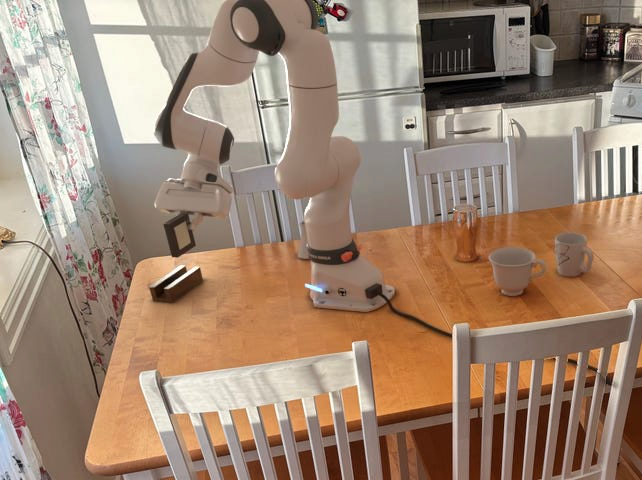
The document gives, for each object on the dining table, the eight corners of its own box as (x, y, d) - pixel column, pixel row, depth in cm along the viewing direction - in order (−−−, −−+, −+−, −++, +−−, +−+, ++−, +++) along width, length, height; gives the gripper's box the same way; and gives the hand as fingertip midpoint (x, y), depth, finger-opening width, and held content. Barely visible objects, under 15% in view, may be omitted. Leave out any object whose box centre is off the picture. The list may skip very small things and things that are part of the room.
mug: (600, 274, 197) (602, 240, 192) (581, 284, 192) (583, 249, 187) (566, 263, 204) (567, 229, 199) (547, 273, 199) (548, 238, 194)
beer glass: (450, 260, 208) (448, 210, 200) (460, 251, 213) (458, 202, 205) (473, 264, 205) (471, 213, 197) (482, 254, 211) (481, 204, 203)
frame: (190, 245, 192) (182, 212, 187) (196, 245, 192) (188, 213, 187) (171, 257, 186) (163, 223, 181) (177, 257, 185) (169, 224, 180)
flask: (316, 260, 210) (311, 227, 205) (293, 259, 212) (287, 226, 206) (326, 250, 216) (321, 218, 211) (303, 249, 218) (298, 217, 212)
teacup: (538, 306, 182) (539, 269, 177) (482, 298, 187) (481, 262, 182) (551, 286, 192) (552, 250, 187) (498, 278, 197) (497, 244, 191)
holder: (184, 278, 202) (180, 265, 200) (203, 280, 201) (199, 267, 199) (152, 300, 191) (148, 287, 189) (172, 302, 189) (168, 289, 187)
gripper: (157, 172, 190) (143, 221, 187) (226, 177, 186) (213, 227, 183) (171, 183, 196) (158, 231, 193) (239, 188, 192) (226, 237, 189)
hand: (185, 229), depth 188 cm, fingers closed on frame, 2 cm apart
